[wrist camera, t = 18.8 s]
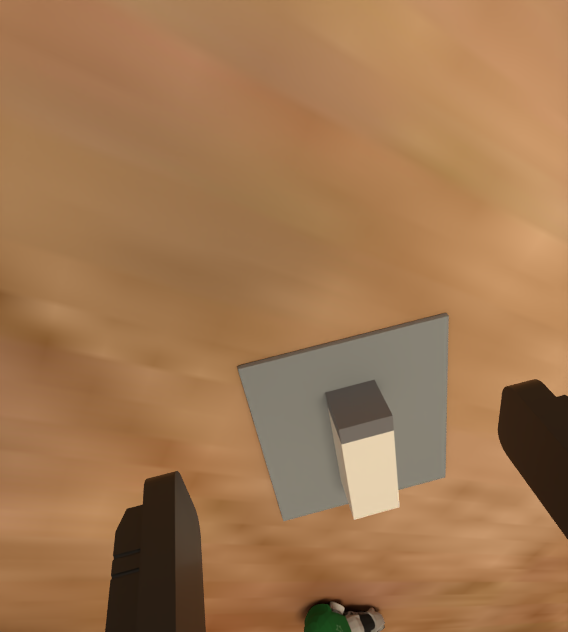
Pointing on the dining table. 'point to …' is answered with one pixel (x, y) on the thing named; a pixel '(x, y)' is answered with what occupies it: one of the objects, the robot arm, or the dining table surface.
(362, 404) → the cream block
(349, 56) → the dining table surface
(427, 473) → the slate mat
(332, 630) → the toy
